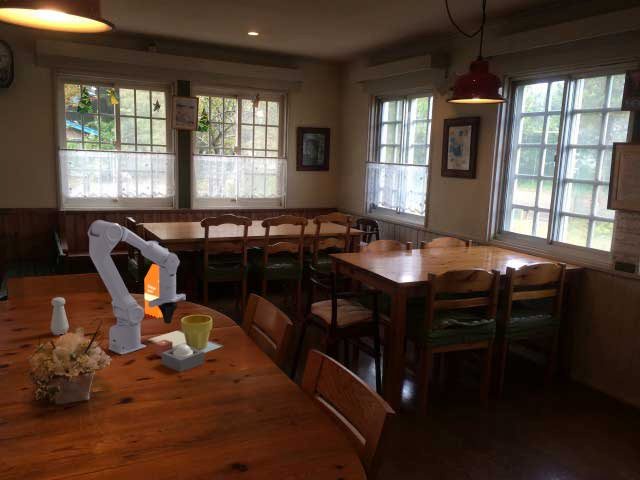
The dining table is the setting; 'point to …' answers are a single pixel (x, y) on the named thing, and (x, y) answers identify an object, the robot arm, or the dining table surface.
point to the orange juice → (152, 290)
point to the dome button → (183, 351)
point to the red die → (162, 347)
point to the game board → (182, 340)
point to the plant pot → (196, 330)
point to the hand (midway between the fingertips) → (167, 322)
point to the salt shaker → (59, 317)
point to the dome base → (182, 360)
